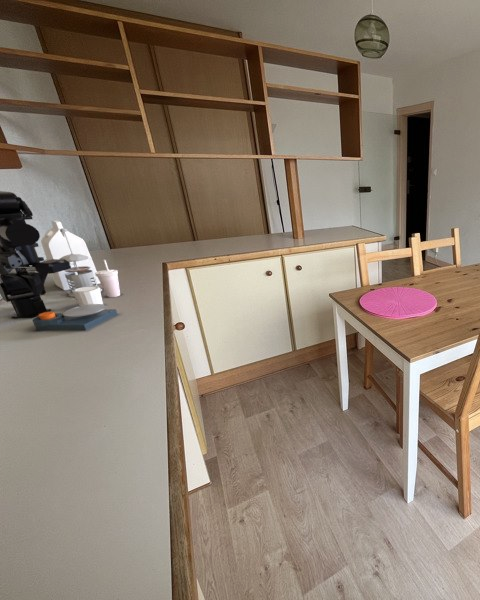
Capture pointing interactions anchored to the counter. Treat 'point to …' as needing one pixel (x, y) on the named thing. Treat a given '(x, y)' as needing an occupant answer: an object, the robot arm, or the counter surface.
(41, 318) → the tare button
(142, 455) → the counter surface
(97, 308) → the weighing pan
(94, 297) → the white short tapered cylinder
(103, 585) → the counter surface
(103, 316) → the scale
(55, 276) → the milk
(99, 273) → the smoothie
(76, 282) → the french press
